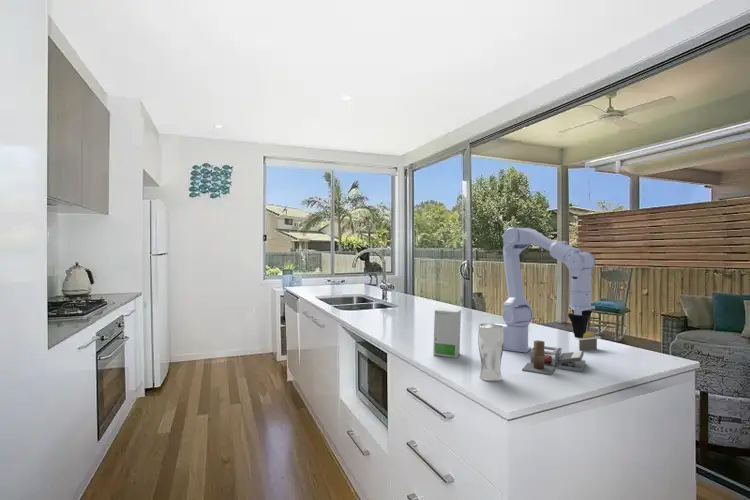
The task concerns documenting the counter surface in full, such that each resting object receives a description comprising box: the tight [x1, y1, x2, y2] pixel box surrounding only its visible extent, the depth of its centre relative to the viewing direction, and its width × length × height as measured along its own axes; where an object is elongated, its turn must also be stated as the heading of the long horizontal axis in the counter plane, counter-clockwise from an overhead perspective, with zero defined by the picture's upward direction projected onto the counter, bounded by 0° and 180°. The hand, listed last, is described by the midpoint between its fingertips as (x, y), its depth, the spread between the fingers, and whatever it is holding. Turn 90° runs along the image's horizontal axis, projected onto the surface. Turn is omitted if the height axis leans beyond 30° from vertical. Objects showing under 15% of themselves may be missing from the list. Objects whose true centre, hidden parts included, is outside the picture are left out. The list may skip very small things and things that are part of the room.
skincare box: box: [433, 307, 462, 359], centre depth 139 cm, size 8×7×16 cm
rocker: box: [559, 350, 584, 363], centre depth 126 cm, size 6×9×1 cm, turn 148°
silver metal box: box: [530, 345, 586, 373], centre depth 128 cm, size 15×10×4 cm, turn 58°
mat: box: [521, 362, 556, 376], centre depth 122 cm, size 8×8×1 cm
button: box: [544, 354, 553, 362], centre depth 131 cm, size 3×3×2 cm
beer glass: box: [477, 322, 504, 383], centre depth 114 cm, size 7×7×15 cm
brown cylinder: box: [533, 340, 545, 369], centre depth 122 cm, size 3×3×8 cm
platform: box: [573, 330, 602, 351], centre depth 146 cm, size 12×18×7 cm, turn 109°
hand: (580, 335), depth 124 cm, fingers open, 7 cm apart
